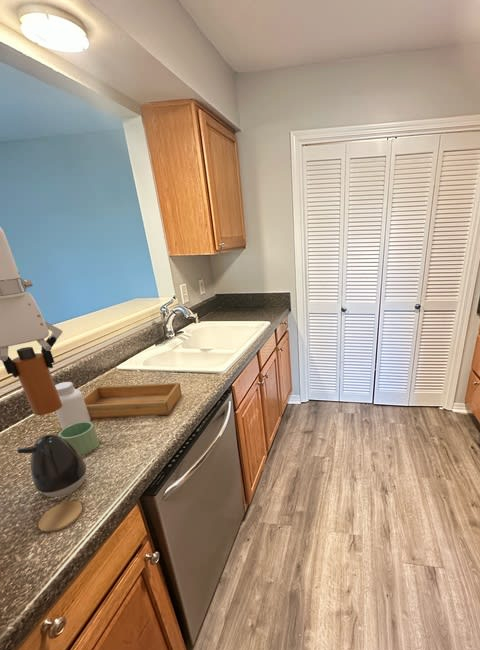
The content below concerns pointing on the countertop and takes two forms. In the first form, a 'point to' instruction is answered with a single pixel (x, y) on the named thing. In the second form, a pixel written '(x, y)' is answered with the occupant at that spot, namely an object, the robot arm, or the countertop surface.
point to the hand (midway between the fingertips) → (32, 370)
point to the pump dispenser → (55, 466)
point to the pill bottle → (71, 405)
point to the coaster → (60, 516)
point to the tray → (132, 400)
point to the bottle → (37, 381)
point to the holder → (81, 436)
